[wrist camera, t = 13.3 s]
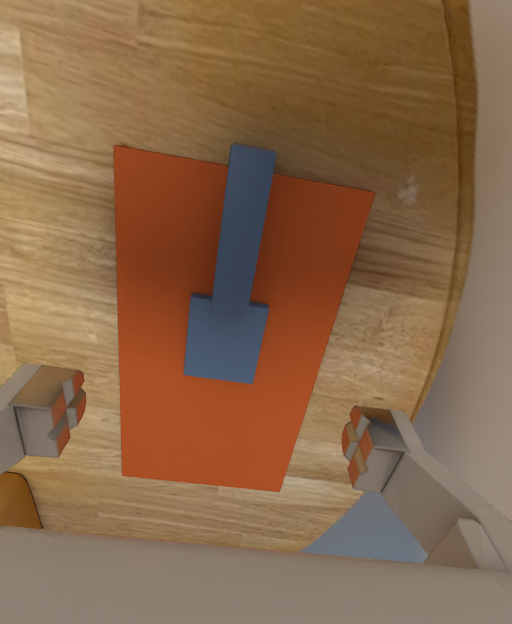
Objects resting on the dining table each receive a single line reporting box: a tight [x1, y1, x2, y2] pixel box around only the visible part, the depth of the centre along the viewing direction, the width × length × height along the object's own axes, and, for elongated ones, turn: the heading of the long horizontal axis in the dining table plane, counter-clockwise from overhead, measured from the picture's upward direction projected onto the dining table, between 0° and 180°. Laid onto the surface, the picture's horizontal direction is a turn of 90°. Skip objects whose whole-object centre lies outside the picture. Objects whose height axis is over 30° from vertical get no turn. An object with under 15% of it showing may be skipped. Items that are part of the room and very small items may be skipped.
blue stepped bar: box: [183, 143, 277, 384], centre depth 23 cm, size 17×6×3 cm, turn 170°
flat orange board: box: [113, 145, 375, 492], centre depth 28 cm, size 30×16×1 cm, turn 170°
